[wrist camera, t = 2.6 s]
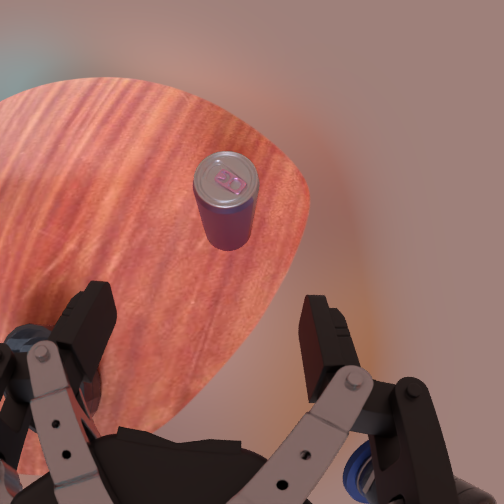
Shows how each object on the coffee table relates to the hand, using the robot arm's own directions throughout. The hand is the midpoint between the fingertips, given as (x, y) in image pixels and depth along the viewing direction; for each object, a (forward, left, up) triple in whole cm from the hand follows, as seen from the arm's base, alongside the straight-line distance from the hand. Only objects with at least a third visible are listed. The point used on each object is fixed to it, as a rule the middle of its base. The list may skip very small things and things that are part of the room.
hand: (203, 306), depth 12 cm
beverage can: (+11, -4, -27) cm, 29 cm away
